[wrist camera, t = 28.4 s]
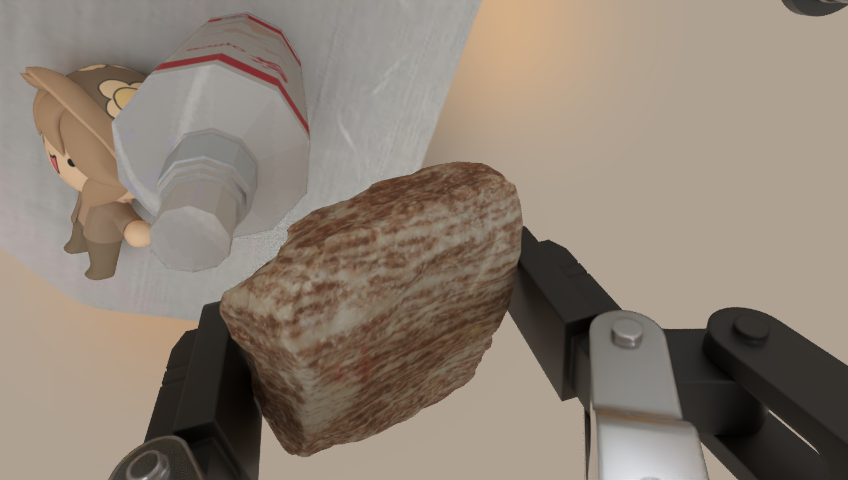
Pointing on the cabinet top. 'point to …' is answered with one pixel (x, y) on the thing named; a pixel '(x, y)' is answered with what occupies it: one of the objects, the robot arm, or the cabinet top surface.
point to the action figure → (90, 156)
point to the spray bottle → (216, 141)
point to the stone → (378, 304)
